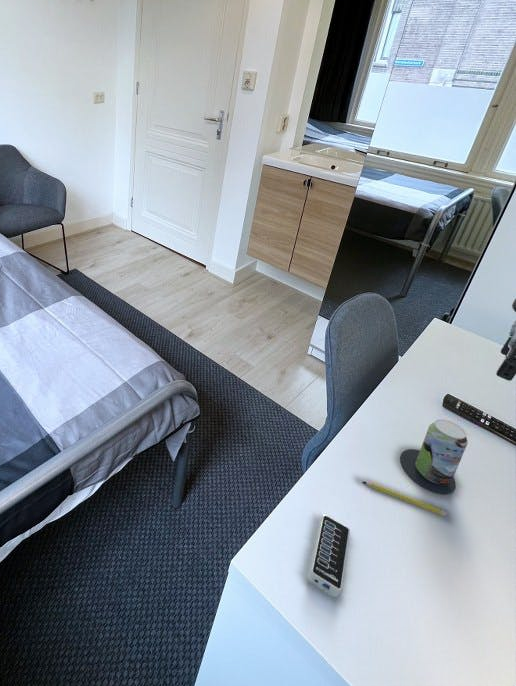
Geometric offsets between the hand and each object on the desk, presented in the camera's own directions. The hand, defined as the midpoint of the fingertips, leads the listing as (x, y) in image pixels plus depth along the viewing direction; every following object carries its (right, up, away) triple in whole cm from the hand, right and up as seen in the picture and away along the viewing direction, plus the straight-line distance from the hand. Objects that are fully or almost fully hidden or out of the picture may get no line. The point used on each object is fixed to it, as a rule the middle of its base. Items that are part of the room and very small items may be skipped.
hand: (505, 365), depth 78 cm
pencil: (-19, -26, +1) cm, 32 cm away
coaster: (-10, -23, +6) cm, 26 cm away
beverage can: (-10, -23, +6) cm, 26 cm away
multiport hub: (-38, -29, -9) cm, 49 cm away
